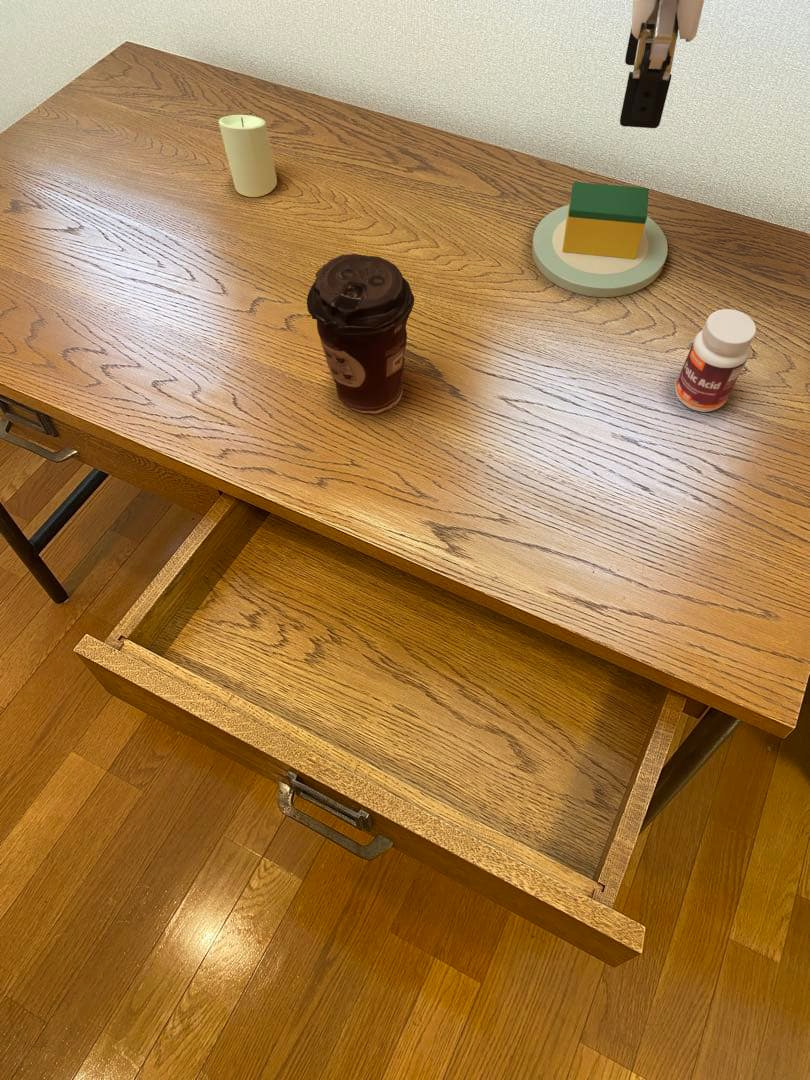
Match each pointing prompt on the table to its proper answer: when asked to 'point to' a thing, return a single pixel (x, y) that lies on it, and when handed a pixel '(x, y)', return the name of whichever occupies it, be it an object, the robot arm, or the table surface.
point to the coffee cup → (363, 328)
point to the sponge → (605, 220)
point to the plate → (596, 260)
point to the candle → (248, 154)
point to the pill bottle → (715, 360)
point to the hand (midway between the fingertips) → (640, 93)
